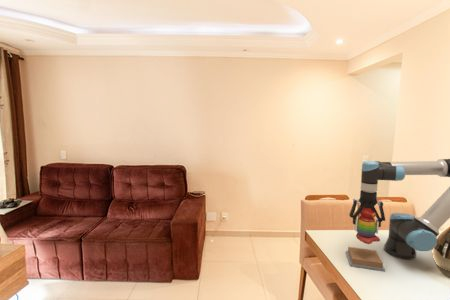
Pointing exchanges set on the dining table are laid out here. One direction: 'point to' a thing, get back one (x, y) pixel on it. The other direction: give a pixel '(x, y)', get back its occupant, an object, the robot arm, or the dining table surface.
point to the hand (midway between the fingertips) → (365, 231)
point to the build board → (364, 259)
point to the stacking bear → (367, 226)
